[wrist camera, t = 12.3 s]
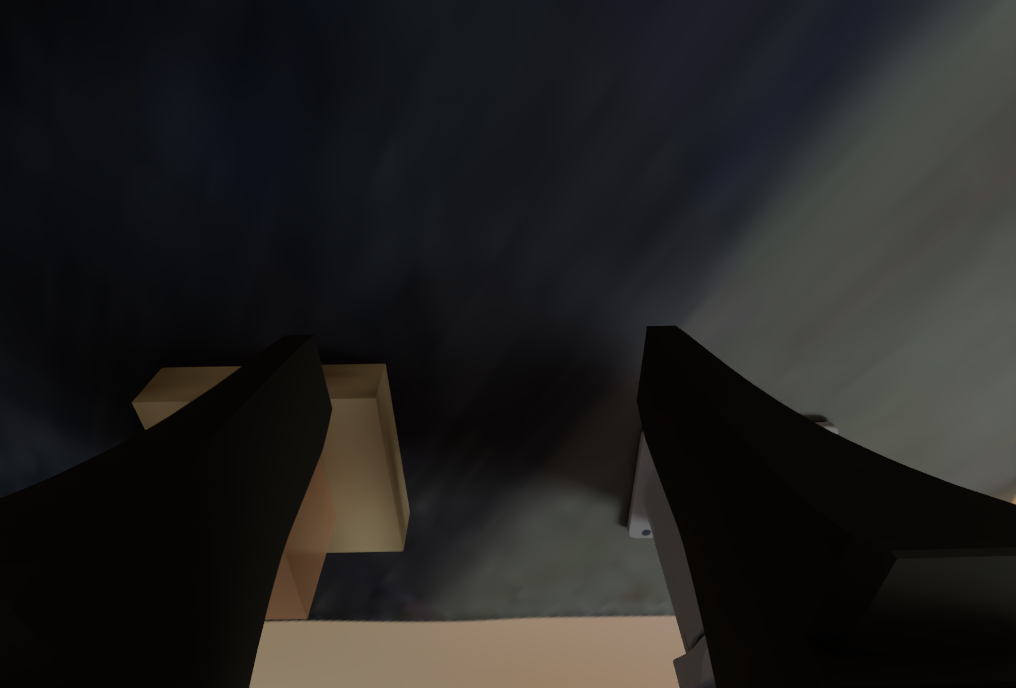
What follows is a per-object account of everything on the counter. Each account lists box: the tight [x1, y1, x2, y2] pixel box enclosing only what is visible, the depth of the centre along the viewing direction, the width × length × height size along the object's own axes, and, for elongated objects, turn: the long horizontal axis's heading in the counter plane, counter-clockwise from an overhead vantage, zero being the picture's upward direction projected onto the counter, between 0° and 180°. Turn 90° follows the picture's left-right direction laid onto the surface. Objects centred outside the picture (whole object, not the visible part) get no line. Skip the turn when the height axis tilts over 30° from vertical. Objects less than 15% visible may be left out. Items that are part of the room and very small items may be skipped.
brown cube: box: [265, 456, 336, 619], centre depth 23 cm, size 5×5×5 cm
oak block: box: [132, 364, 410, 553], centre depth 27 cm, size 10×10×3 cm
